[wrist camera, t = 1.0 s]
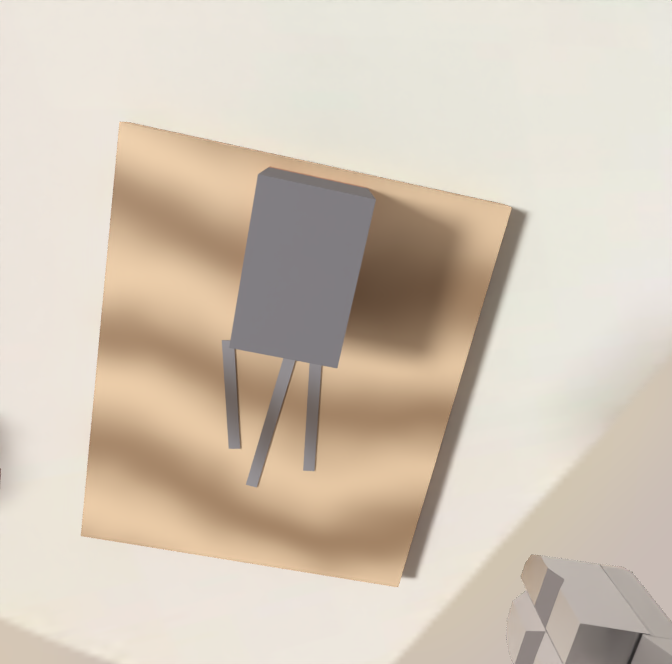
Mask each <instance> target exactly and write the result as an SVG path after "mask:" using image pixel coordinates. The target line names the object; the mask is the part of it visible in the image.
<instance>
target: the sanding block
mask: <svg viewBox="0 0 672 664" xmlns="http://www.w3.org/2000/svg"><path fill="white" fill-rule="evenodd" d="M375 202H376V199H375V198H374V196H373V195H372V193H371V192H370V191H369V189H368V188H367V187H363V186H358V185H354V184H349V183H344V182H340V181H335V180H331V179H326V178H321V177H317V176H312V175H307V174H303V173H298V172H294V171H289V170H284V169H280V168H275V167H271V166H270V167H268V168H267V169H265V170H263V171H262V172H260V173H259V174H258V177H257V183H256V189H255V195H254V201H253V207H252V213H251V219H250V225H249V231H248V237H247V243H246V249H245V255H244V261H243V267H242V273H241V279H240V285H239V291H238V297H237V303H236V309H235V315H234V321H233V327H232V333H231V340H230V346H229V348H232V349H238V350H243V351H248V352H253V353H259V354H264V355H269V356H274V357H280V358H285V359H290V360H295V361H301V362H306V363H311V364H316V365H321V366H327V367H332V368H338V363H339V359H340V355H341V350H342V346H343V342H344V337H345V333H346V328H347V324H348V320H349V315H350V311H351V307H352V302H353V298H354V293H355V289H356V285H357V280H358V276H359V272H360V267H361V263H362V258H363V254H364V250H365V245H366V241H367V237H368V232H369V228H370V223H371V219H372V215H373V210H374V206H375Z"/></svg>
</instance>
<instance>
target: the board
mask: <svg viewBox="0 0 672 664" xmlns="http://www.w3.org/2000/svg"><path fill="white" fill-rule="evenodd" d="M270 166H271V167H275V168H280V169H284V170H289V171H294V172H298V173H303V174H307V175H312V176H317V177H321V178H326V179H331V180H335V181H340V182H344V183H349V184H354V185H358V186H363V187H367V188H368V189H369V191H370V192H371V193H372V195H373V196H374V198H375V199H376V202H375V206H374V210H373V215H372V219H371V223H370V228H369V232H368V237H367V241H366V245H365V250H364V254H363V258H362V263H361V267H360V272H359V276H358V280H357V285H356V289H355V293H354V298H353V302H352V307H351V311H350V315H349V320H348V324H347V328H346V333H345V337H344V342H343V346H342V350H341V355H340V359H339V363H338V368H332V367H327V366H321V365H316V364H311V363H306V362H301V361H295V360H290V359H285V358H280V357H274V356H269V355H264V354H259V353H253V352H248V351H243V350H238V349H232V348H229V346H230V340H231V333H232V327H233V321H234V315H235V309H236V303H237V297H238V291H239V285H240V279H241V273H242V267H243V261H244V255H245V249H246V243H247V237H248V231H249V225H250V219H251V213H252V207H253V201H254V195H255V189H256V183H257V177H258V174H259V173H260V172H262V171H263V170H265V169H267V168H268V167H270ZM511 209H512V207H510V206H507V205H505V204H501V203H496V202H492V201H487V200H482V199H478V198H473V197H469V196H464V195H459V194H455V193H450V192H446V191H441V190H437V189H432V188H427V187H423V186H418V185H414V184H409V183H405V182H400V181H395V180H391V179H386V178H382V177H377V176H372V175H368V174H363V173H359V172H354V171H350V170H345V169H340V168H336V167H331V166H327V165H322V164H318V163H313V162H308V161H304V160H299V159H295V158H290V157H285V156H281V155H276V154H272V153H267V152H263V151H258V150H253V149H249V148H244V147H240V146H235V145H231V144H226V143H221V142H217V141H212V140H208V139H203V138H199V137H194V136H189V135H185V134H180V133H176V132H171V131H166V130H162V129H157V128H153V127H148V126H144V125H139V124H134V123H130V122H120V123H119V133H118V144H117V155H116V165H115V176H114V187H113V198H112V208H111V219H110V230H109V240H108V251H107V262H106V273H105V283H104V294H103V305H102V315H101V326H100V337H99V348H98V358H97V369H96V380H95V390H94V401H93V412H92V423H91V433H90V444H89V455H88V465H87V476H86V487H85V498H84V508H83V519H82V530H81V536H85V537H91V538H97V539H103V540H109V541H115V542H122V543H128V544H134V545H140V546H146V547H152V548H159V549H165V550H171V551H177V552H183V553H189V554H196V555H202V556H208V557H214V558H220V559H227V560H233V561H239V562H245V563H251V564H257V565H264V566H270V567H276V568H282V569H288V570H294V571H301V572H307V573H313V574H319V575H325V576H331V577H338V578H344V579H350V580H356V581H362V582H368V583H375V584H381V585H387V586H393V587H398V586H399V583H400V579H401V576H402V573H403V569H404V566H405V563H406V559H407V556H408V553H409V549H410V546H411V543H412V539H413V536H414V533H415V529H416V526H417V523H418V519H419V516H420V513H421V509H422V506H423V503H424V499H425V496H426V493H427V489H428V486H429V483H430V479H431V476H432V473H433V469H434V466H435V463H436V459H437V456H438V453H439V449H440V446H441V443H442V439H443V436H444V433H445V429H446V426H447V423H448V419H449V416H450V413H451V409H452V406H453V403H454V399H455V396H456V393H457V389H458V386H459V382H460V379H461V376H462V372H463V369H464V366H465V362H466V359H467V356H468V352H469V349H470V346H471V342H472V339H473V336H474V332H475V329H476V326H477V322H478V319H479V316H480V312H481V309H482V306H483V302H484V299H485V296H486V292H487V289H488V286H489V282H490V279H491V276H492V272H493V269H494V266H495V262H496V259H497V256H498V252H499V249H500V246H501V242H502V239H503V236H504V232H505V229H506V226H507V222H508V219H509V216H510V212H511Z"/></svg>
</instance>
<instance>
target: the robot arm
mask: <svg viewBox="0 0 672 664" xmlns="http://www.w3.org/2000/svg"><path fill="white" fill-rule="evenodd" d="M0 478H1V469H0ZM521 579H522V582H523V584H524V587H525V589H526V591H524V592H523V593H522V594H521V595H520V596H518V597H517V598H516V599H514V600H513V601H512V605H511V608H510V611H509V615H508V618H507V634H506V640H507V645H508V651H509V655H510V657H511V660H512V662H513V664H672V621H671V620H670V619H669V618H668V616H667V615H666V614H665V613H664V611H663V610H662V609H661V607H660V606H659V605H658V604H657V603H656V601H655V600H654V599H653V598H652V596H651V595H650V594H649V593H648V591H647V590H646V589H645V587H644V586H643V585H642V584H641V582H640V581H639V580H638V578H637V577H636V576H635V575H634V574H633V572H631V571H630V570H628V569H626V568H624V567H620V566H613V565H604V564H597V563H589V562H582V561H576V560H569V559H562V558H555V557H548V556H541V555H531V556H530V557H529V559H528V560H527V561H526V563H525V566H524V569H523V571H522V574H521Z"/></svg>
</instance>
